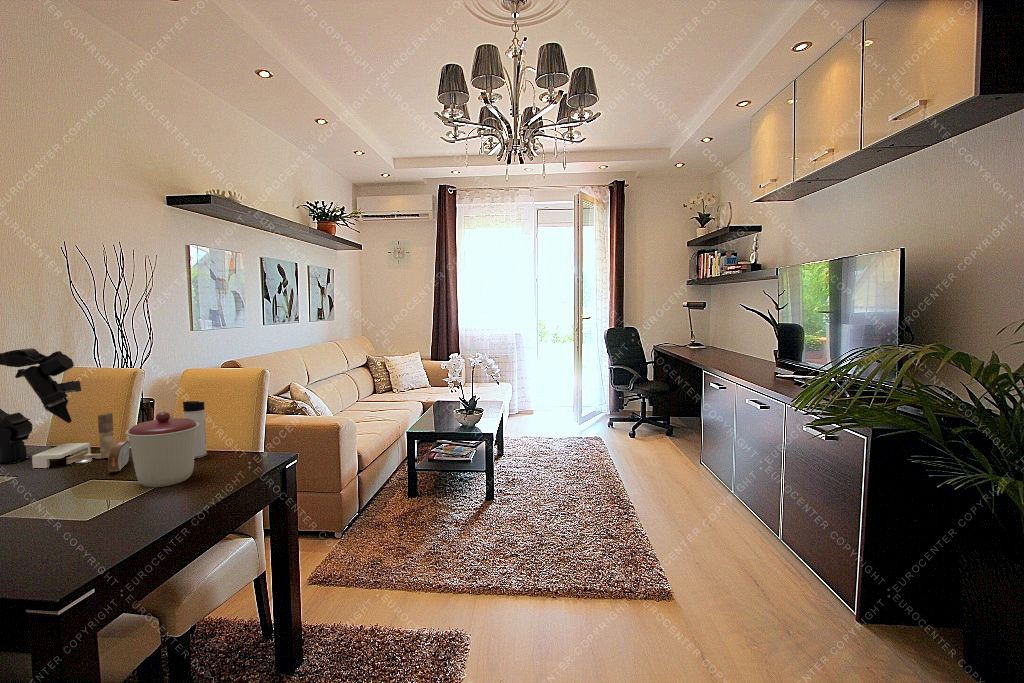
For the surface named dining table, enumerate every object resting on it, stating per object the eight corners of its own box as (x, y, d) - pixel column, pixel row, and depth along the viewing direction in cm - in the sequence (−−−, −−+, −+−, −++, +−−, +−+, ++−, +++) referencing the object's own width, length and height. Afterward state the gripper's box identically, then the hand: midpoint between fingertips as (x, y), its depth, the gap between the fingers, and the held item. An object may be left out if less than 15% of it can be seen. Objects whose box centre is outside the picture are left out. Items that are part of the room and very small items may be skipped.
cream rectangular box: (32, 469, 160) (32, 455, 160) (65, 456, 174) (64, 443, 174) (60, 468, 162) (60, 454, 161) (90, 455, 175) (90, 442, 175)
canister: (182, 467, 163) (180, 403, 161) (213, 478, 154) (211, 410, 152) (116, 485, 147) (112, 414, 146) (146, 497, 138) (142, 422, 136)
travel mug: (179, 459, 171) (177, 401, 170) (197, 453, 178) (194, 398, 176) (194, 461, 169) (191, 402, 168) (211, 455, 176) (208, 399, 174)
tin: (121, 462, 168) (119, 437, 168) (132, 460, 170) (131, 436, 169) (107, 476, 155) (105, 449, 154) (119, 474, 156) (118, 448, 155)
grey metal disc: (71, 466, 165) (71, 462, 164) (81, 462, 169) (80, 457, 169) (86, 465, 165) (86, 461, 165) (95, 461, 170) (95, 457, 169)
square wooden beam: (66, 464, 164) (63, 419, 163) (84, 456, 172) (82, 413, 171) (98, 463, 165) (95, 418, 164) (114, 455, 174) (112, 413, 173)
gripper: (70, 366, 166) (98, 407, 169) (70, 375, 180) (96, 412, 183) (28, 383, 159) (58, 425, 162) (32, 390, 173) (59, 429, 175)
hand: (70, 422), depth 170 cm, fingers closed
